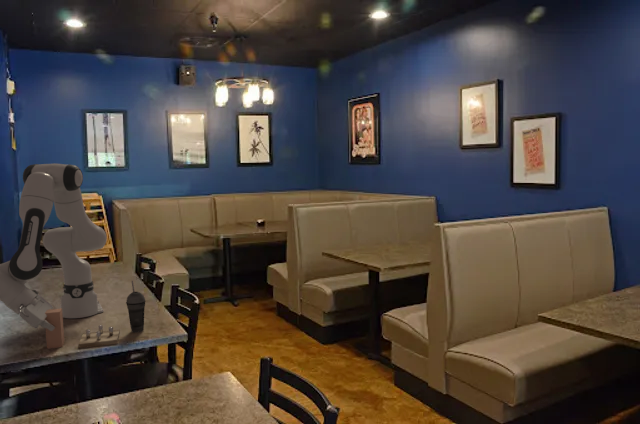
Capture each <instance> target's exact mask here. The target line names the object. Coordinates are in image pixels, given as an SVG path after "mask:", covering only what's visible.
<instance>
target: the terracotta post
mask: <svg viewBox="0 0 640 424" xmlns="http://www.w3.org/2000/svg"><path fill="white" fill-rule="evenodd" d="M45 314H46V315H47V317H46V318H45V320H46V321H47V322H48V323H50V324H53V325H54V326H55V328H54V330H53V331H50V330H48V329H47V328H44V330H45V338H46V342H45V343H46V349H47V350H49V349H56V348H57V349H58V348H63V347H64V345H65V343H66V342H65V331H64V317H63V314H62V308H61V307H59V308H53V309H50V310H47V311H46V312H45Z"/></svg>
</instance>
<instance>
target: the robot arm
mask: <svg viewBox="0 0 640 424" xmlns="http://www.w3.org/2000/svg"><path fill="white" fill-rule="evenodd" d="M22 181H23V184H24V185H23V187H22V190H21V194H20V200H19V207H18V208H19V210H18V213H19V217H20V219H21V221H22V229H21V236H20V241H19V246H18V249H17V250H16V252H15V253H14V254H13V255H12V257H11V258H10V260H8V261H6V262H2V263H0V302H2V303H3V304H4V305H5V306H6V307H7V308H9V310H11V311H12V312H14V313H15V314H17V315H18V316H19V317H20V318H21V319H22V320H24V321H25V322H26V323H27V324H29V325H30V326H31V327H32V328H35V329H38V328H39V327H42V328H44V329H45V328H47V329H48V330H50V331H53V330H54V328H55V326H54V325H53V324H50V323H48V322H47V321H46V320H45V318H46V317H47V315H46V314H45V312H46V311H47V310H50V309H54V306H53V305H52V303H50V302H49V301H48V300H46V299H45V297H43V296H41V294H40V293H39V291H37V290H36V289H31V288H29V287H27V285H26V283H28V282H30V281H32V280H34V279H35V278H36V277H37V276H38V275H40V273H41V272H42V269H43V267H44V266H43V258H42V255H41V251H40V249H41V244H43V246H44V249H46V250H47V251H48V252H49V253H50V254H53V255H54V256H55V258H56V259H57V260H58V261H59V263H60V265H61V268H62V273H63V274H62V275H63V281H64V282H63V286H62V287H63V289H62V290H63V295H62V296H61V297H60V308H62V314H63V319H81V318H87V317H91V316H94V315H97V314H100V313H104V309H103V307H102V305H101V302H100V301H99V300H98V293H96V292H95V290H94V281H93V277H92V266H91V264H90V263H89V262H88V260H86V259H83V258H80V257H79V256H78V255H77V253H78V252H80V253H81V252H93V251H97V250H102V249H103V248H104V247H105V245H106V244H107V241H108V240H107V239H108V237H107V232H106V231H105V230H104V229H103V227H101V226H99V225H97V224H95V223H94V222H93V221H92V220H91V219H90V217H89V216H88V214H87V212H86V209H85V206H84V201H83V195H82V190H81V187H82V185H83V181H84V175H83V171H82V170H81V168H80V167H78V166H77V165H75V164H69V163H68V164H63V163H53V162H52V163H43V164H41V163H40V164H39V163H38V164H37V163H36V164H35V163H34V164H29V165H28V166H27V167H25V168H24V170H23V172H22ZM53 207H54V211H55V215H56V218H57V219H58V220H59V221H61V222H63V223H65V224H68V225H69V226H66V227H65V226H64V227H61V226H60V227H54V228H51V229H47V231H46V232H45V233H44V234H43V229H44V227H45V225H46V223H48V220H49V218H50V216H51V214H52V210H53ZM41 241H42V243H41ZM39 294H40V295H39Z"/></svg>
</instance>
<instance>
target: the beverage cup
mask: <svg viewBox="0 0 640 424" xmlns="http://www.w3.org/2000/svg"><path fill="white" fill-rule="evenodd" d="M134 286H135V285H134V280H131V287H132V292H131V293H129V294H128V296H127V297H126V300H125V301H126V302H125V304H126V307H127V311H128V318H129V319H128V320H129V323H130V324H129V325H130V331H131V333H137V334H138V333H141V332H144V330H145V307H146V297H145V296H144V294H143V293H142V292H141V291H140V292H139V291H135V287H134Z"/></svg>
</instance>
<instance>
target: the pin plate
mask: <svg viewBox="0 0 640 424" xmlns="http://www.w3.org/2000/svg"><path fill="white" fill-rule="evenodd" d="M103 327H104V326H103V325H102V324H100V325H98V331H93V332H91V329H86V330H85V332H84V333H83V334H82V336H81V338H80V340H79V342H78V349H83V348H92V347H101V346H109V345H110V346H111V345H118V343H119V340H120V334H121V332H120V331H121V330H120V328H119V329H114V327H113V326H109V327H108V330H104V328H103Z"/></svg>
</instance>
